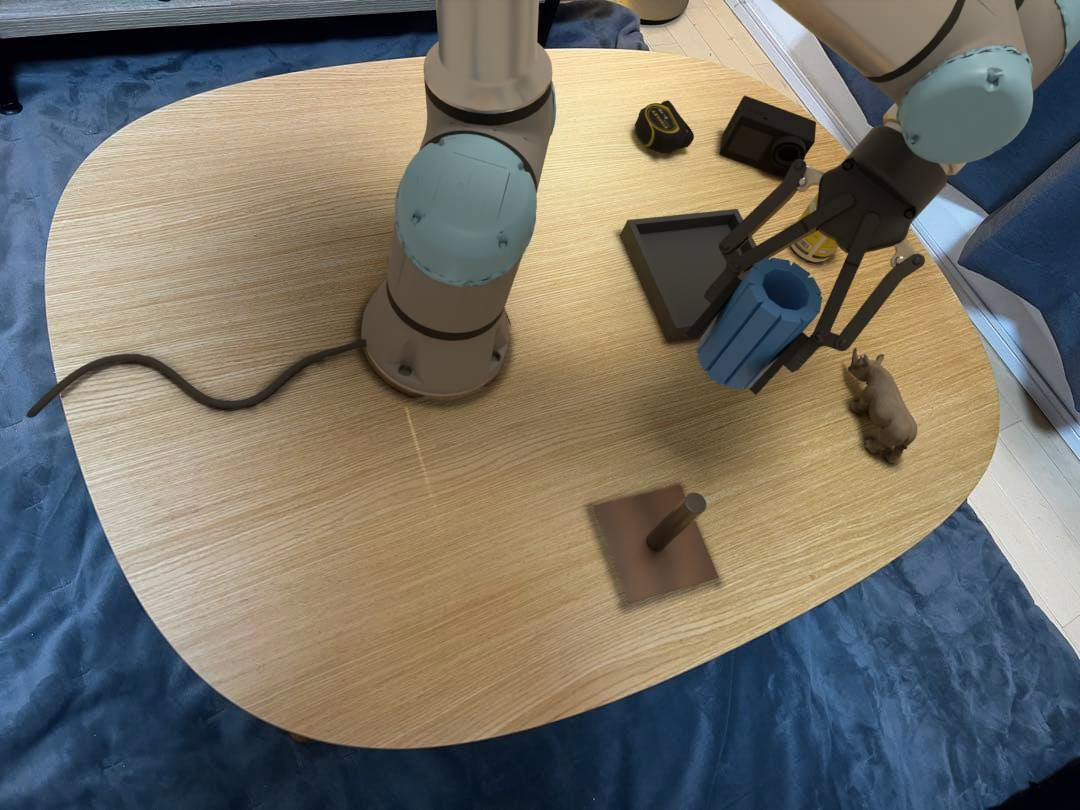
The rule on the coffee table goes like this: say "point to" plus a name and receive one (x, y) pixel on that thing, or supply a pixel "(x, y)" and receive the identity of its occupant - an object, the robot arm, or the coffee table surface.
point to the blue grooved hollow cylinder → (759, 322)
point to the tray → (680, 263)
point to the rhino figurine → (883, 406)
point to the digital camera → (767, 136)
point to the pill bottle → (814, 241)
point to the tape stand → (656, 542)
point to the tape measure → (662, 128)
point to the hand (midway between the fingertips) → (721, 363)
